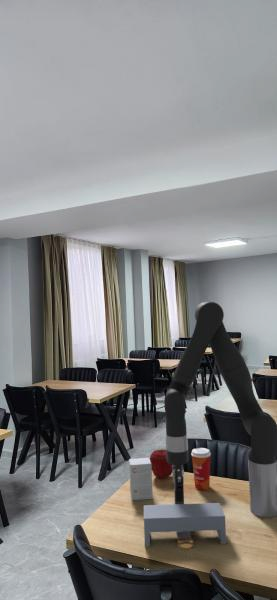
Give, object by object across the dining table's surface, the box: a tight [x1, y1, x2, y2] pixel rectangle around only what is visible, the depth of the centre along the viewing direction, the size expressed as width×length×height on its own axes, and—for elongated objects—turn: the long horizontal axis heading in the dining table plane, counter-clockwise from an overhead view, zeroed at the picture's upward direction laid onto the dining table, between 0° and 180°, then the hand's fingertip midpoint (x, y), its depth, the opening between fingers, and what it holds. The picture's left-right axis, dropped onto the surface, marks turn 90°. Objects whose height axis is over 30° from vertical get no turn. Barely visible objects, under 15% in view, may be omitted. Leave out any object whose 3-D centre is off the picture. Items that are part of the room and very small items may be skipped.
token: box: [177, 537, 194, 551], centre depth 113 cm, size 4×4×1 cm
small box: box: [128, 457, 154, 501], centre depth 146 cm, size 8×6×13 cm
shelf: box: [143, 502, 227, 547], centre depth 117 cm, size 24×8×8 cm, turn 90°
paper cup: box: [190, 447, 212, 491], centre depth 152 cm, size 8×8×14 cm
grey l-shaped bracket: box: [173, 482, 192, 541], centre depth 124 cm, size 4×18×11 cm, turn 179°
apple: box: [149, 448, 173, 480], centre depth 162 cm, size 11×11×12 cm
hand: (178, 498), depth 132 cm, fingers closed on grey l-shaped bracket, 3 cm apart
